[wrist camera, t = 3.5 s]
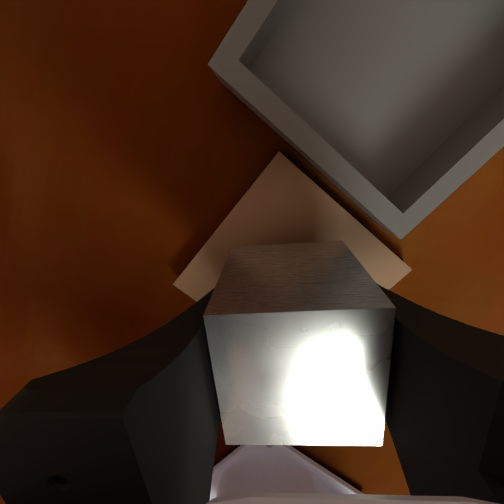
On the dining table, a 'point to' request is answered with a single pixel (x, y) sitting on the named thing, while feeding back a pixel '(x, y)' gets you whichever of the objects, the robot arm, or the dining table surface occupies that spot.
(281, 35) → the bin
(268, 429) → the grey block
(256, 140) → the dining table surface
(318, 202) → the stud plate
